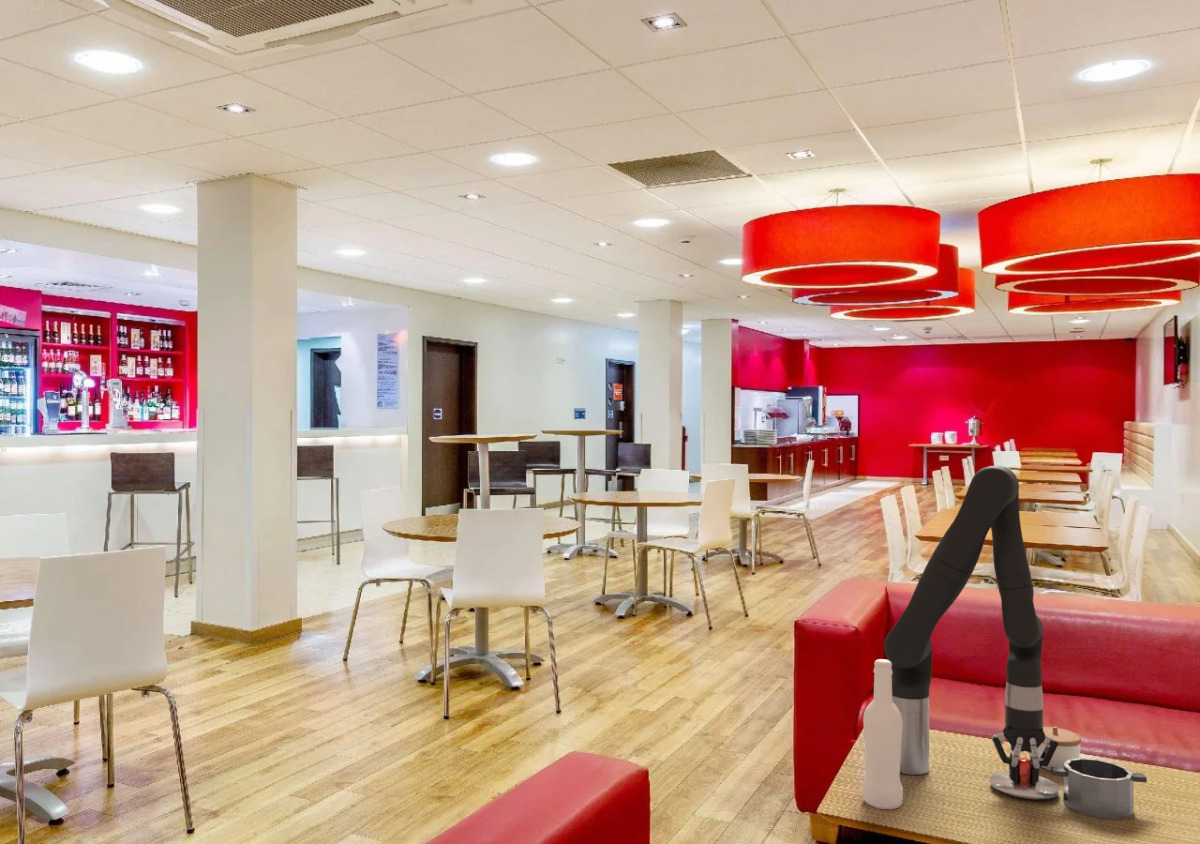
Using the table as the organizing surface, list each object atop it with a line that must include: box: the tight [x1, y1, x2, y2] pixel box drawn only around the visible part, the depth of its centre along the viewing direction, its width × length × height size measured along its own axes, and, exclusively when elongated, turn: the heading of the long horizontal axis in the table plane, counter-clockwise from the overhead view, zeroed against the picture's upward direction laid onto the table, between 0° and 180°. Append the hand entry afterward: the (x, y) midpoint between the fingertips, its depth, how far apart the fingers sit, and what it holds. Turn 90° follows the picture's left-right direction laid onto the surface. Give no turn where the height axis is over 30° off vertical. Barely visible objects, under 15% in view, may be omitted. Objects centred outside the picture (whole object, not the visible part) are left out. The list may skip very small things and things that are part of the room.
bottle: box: [862, 658, 904, 810], centre depth 193 cm, size 8×8×30 cm
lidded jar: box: [1037, 726, 1082, 771], centre depth 214 cm, size 11×11×9 cm
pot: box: [1049, 757, 1148, 821], centre depth 192 cm, size 18×12×8 cm
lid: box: [989, 757, 1060, 800], centre depth 200 cm, size 14×14×7 cm
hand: (1024, 782), depth 200 cm, fingers closed on lid, 3 cm apart
